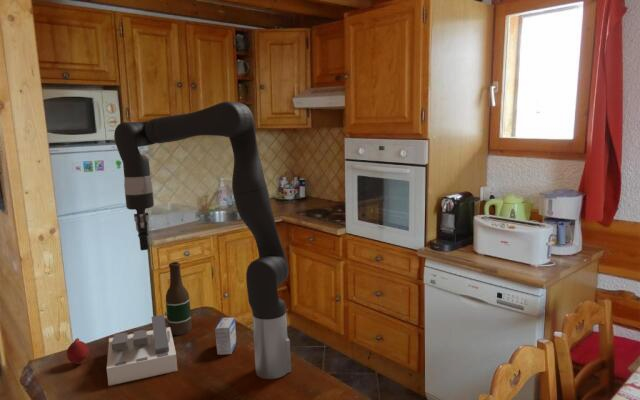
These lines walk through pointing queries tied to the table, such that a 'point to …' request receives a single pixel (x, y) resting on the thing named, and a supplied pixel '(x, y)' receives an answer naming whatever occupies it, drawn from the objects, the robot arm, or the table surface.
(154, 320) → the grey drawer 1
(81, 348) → the onion
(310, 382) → the table surface
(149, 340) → the board rack
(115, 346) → the grey board
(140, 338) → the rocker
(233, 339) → the medicine box
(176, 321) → the beer bottle
